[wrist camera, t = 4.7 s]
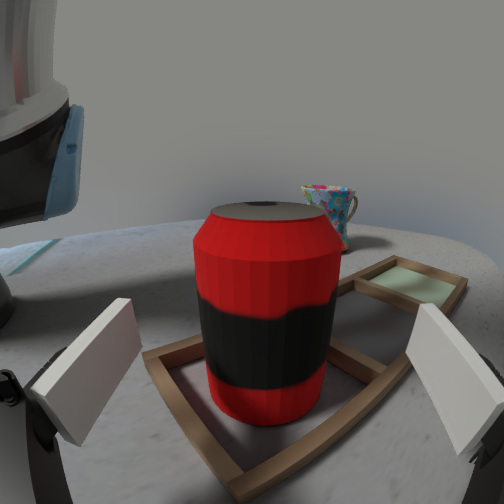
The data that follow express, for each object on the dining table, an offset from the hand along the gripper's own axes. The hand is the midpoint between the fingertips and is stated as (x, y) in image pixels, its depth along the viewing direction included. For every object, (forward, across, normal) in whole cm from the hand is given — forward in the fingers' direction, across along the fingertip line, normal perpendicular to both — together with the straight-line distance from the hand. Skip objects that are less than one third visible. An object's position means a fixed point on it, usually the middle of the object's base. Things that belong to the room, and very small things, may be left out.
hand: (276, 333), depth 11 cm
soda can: (+4, 0, -8) cm, 9 cm away
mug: (+37, +10, -8) cm, 39 cm away
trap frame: (+12, +9, -7) cm, 16 cm away
